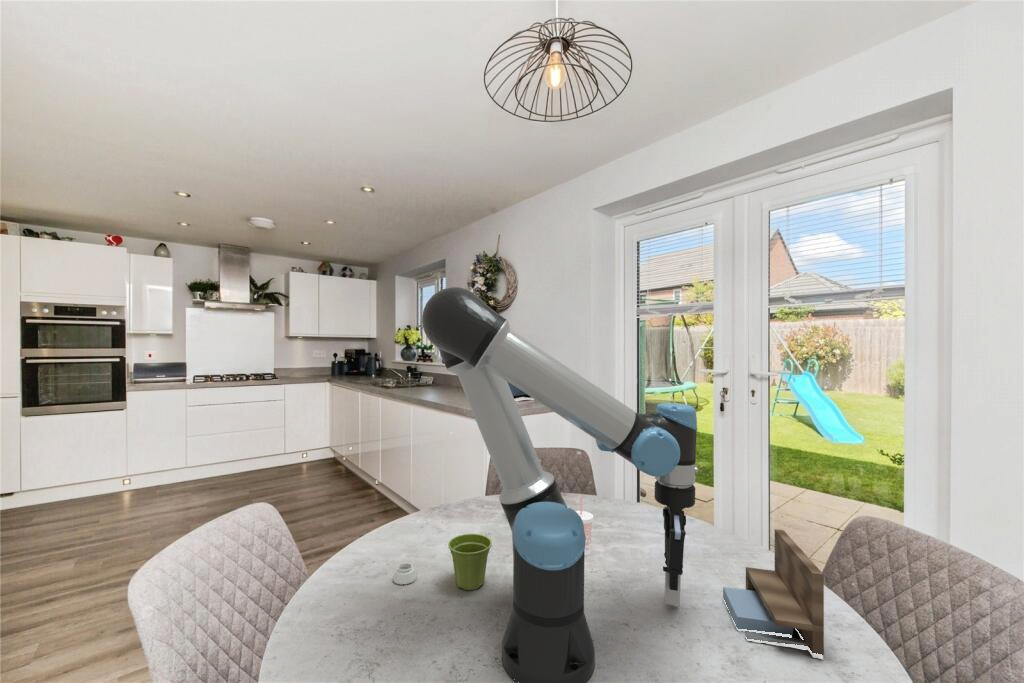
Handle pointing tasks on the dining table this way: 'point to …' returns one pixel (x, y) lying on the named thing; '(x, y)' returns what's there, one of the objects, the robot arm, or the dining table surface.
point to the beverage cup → (586, 526)
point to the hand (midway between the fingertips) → (672, 602)
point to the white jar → (405, 574)
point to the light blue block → (750, 611)
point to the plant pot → (470, 559)
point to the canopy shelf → (791, 594)
